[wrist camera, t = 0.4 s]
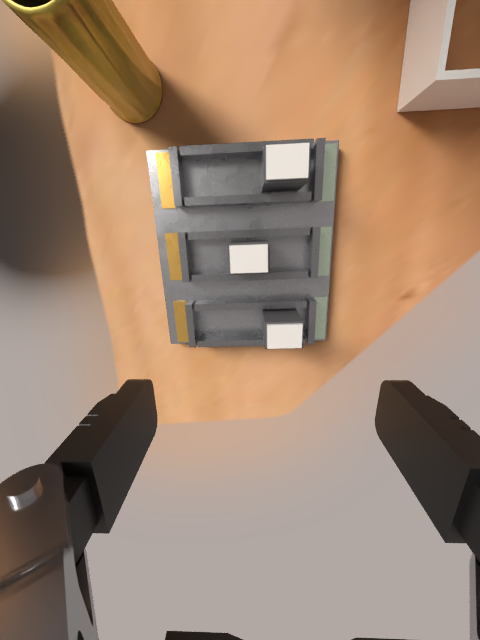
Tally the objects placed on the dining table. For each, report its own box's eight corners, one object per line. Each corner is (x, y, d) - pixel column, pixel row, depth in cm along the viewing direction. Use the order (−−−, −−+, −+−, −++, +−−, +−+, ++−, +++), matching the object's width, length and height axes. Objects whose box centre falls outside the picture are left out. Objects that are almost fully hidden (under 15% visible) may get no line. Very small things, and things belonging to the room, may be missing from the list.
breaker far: (262, 308, 33) (265, 323, 27) (295, 307, 32) (304, 322, 27) (262, 330, 34) (265, 350, 28) (294, 330, 33) (303, 349, 28)
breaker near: (260, 160, 28) (263, 142, 22) (299, 158, 28) (312, 139, 22) (261, 192, 29) (264, 182, 23) (298, 190, 28) (310, 180, 23)
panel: (151, 154, 29) (138, 144, 26) (334, 145, 28) (346, 133, 25) (173, 339, 36) (166, 350, 33) (322, 336, 35) (330, 346, 32)
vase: (120, 37, 26) (-19, -173, 13) (173, 78, 27) (98, -77, 14) (95, 99, 28) (-51, -28, 14) (146, 136, 29) (54, 50, 15)
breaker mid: (231, 241, 30) (227, 243, 25) (266, 240, 30) (269, 241, 25) (232, 268, 31) (228, 275, 26) (266, 267, 31) (270, 274, 25)
